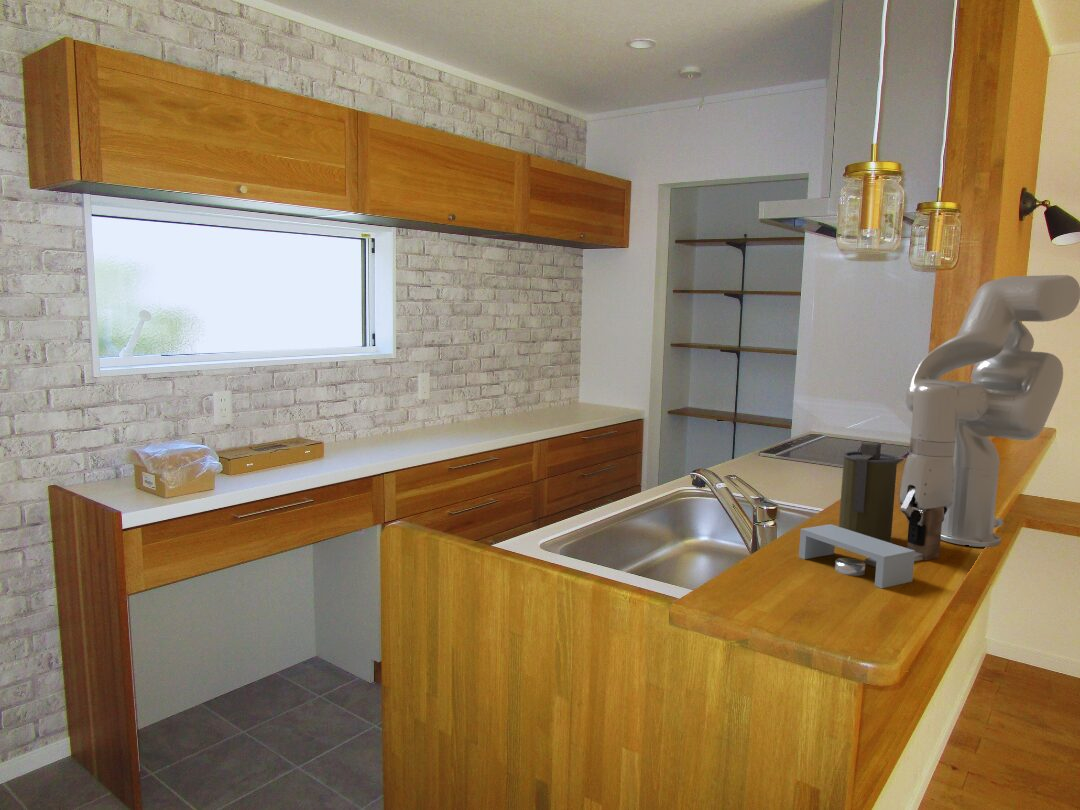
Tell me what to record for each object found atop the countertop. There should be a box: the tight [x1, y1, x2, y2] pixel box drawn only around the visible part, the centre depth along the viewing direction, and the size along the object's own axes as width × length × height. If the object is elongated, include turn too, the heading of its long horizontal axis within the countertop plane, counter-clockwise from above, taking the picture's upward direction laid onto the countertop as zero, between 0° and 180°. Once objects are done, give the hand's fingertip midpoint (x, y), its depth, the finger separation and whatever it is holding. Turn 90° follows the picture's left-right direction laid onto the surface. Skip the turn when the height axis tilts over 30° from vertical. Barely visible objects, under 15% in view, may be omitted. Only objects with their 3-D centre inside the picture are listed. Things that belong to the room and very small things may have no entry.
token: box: [834, 557, 866, 577], centre depth 135 cm, size 5×5×2 cm
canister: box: [838, 441, 899, 543], centre depth 154 cm, size 11×10×20 cm
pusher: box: [864, 504, 943, 568], centre depth 141 cm, size 16×4×10 cm, turn 118°
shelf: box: [798, 523, 915, 589], centre depth 136 cm, size 8×18×6 cm, turn 28°
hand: (923, 541), depth 144 cm, fingers closed on pusher, 4 cm apart
